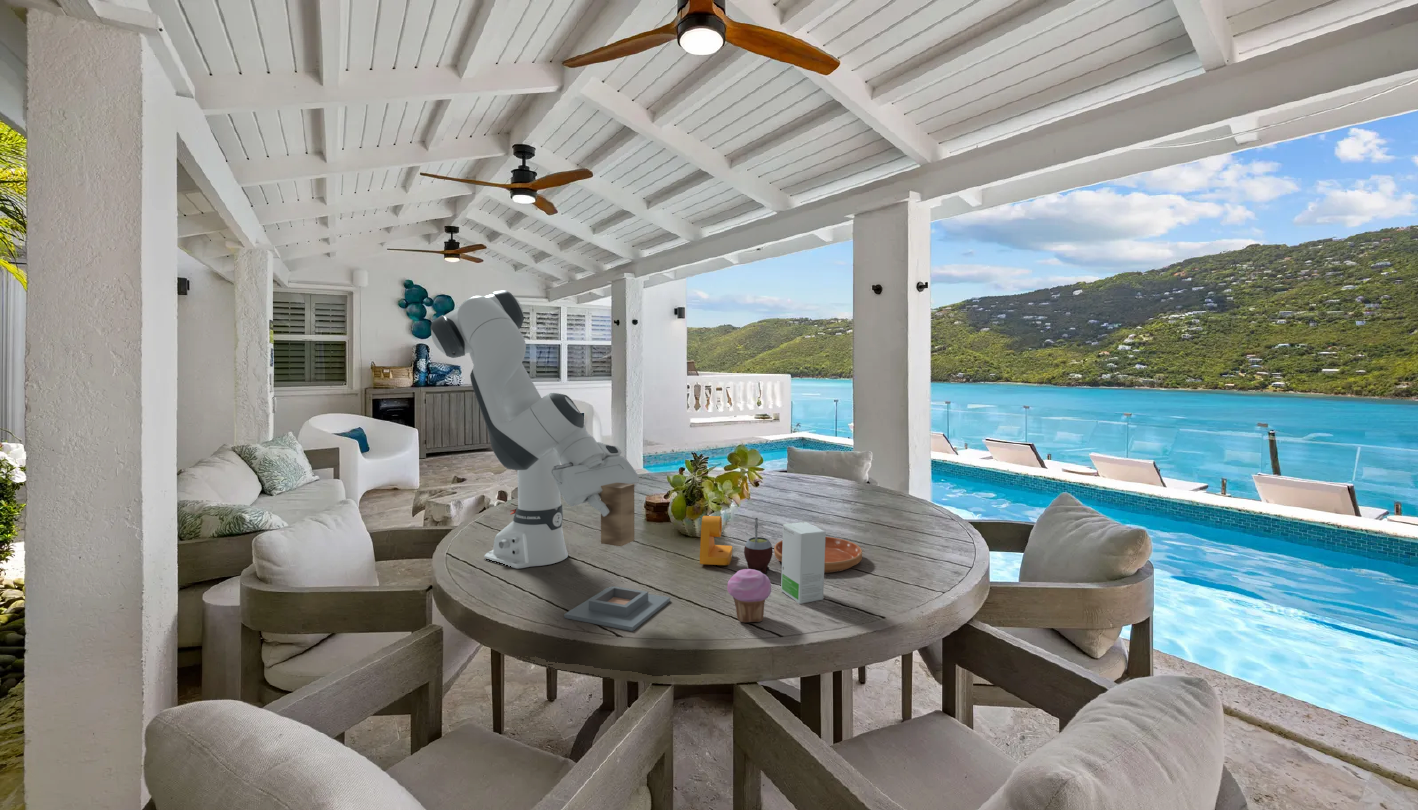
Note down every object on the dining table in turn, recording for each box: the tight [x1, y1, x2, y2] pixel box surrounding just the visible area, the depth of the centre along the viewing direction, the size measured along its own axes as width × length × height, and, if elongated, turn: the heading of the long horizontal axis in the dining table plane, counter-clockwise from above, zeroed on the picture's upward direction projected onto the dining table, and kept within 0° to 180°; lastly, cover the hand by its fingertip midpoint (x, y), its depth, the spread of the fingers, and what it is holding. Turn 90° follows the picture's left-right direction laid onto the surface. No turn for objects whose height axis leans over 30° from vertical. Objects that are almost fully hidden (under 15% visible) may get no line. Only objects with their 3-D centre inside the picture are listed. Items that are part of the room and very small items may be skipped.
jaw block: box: [600, 483, 635, 547], centre depth 120 cm, size 5×5×12 cm
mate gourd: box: [743, 517, 774, 576], centre depth 143 cm, size 8×8×15 cm
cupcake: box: [727, 568, 772, 623], centre depth 115 cm, size 9×9×10 cm
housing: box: [564, 585, 671, 632], centre depth 121 cm, size 16×16×3 cm
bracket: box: [699, 515, 733, 566], centre depth 152 cm, size 11×7×12 cm, turn 171°
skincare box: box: [780, 521, 827, 605], centre depth 127 cm, size 8×7×16 cm
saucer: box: [773, 536, 863, 574], centre depth 152 cm, size 23×23×4 cm
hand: (619, 510), depth 119 cm, fingers closed on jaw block, 5 cm apart
